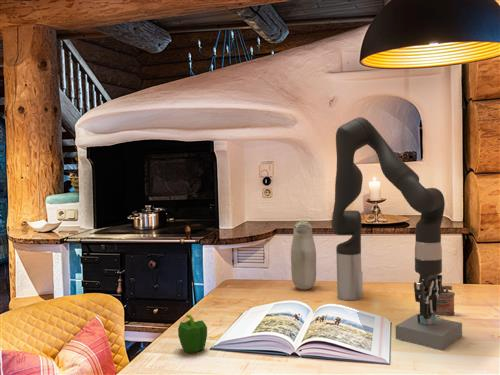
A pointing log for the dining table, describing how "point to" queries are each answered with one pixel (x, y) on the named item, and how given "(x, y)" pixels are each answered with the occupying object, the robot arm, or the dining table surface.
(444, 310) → the lighter
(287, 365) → the dining table surface
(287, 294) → the dining table surface
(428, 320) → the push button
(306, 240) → the grey bottle
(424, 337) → the slate stand
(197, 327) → the bell pepper
